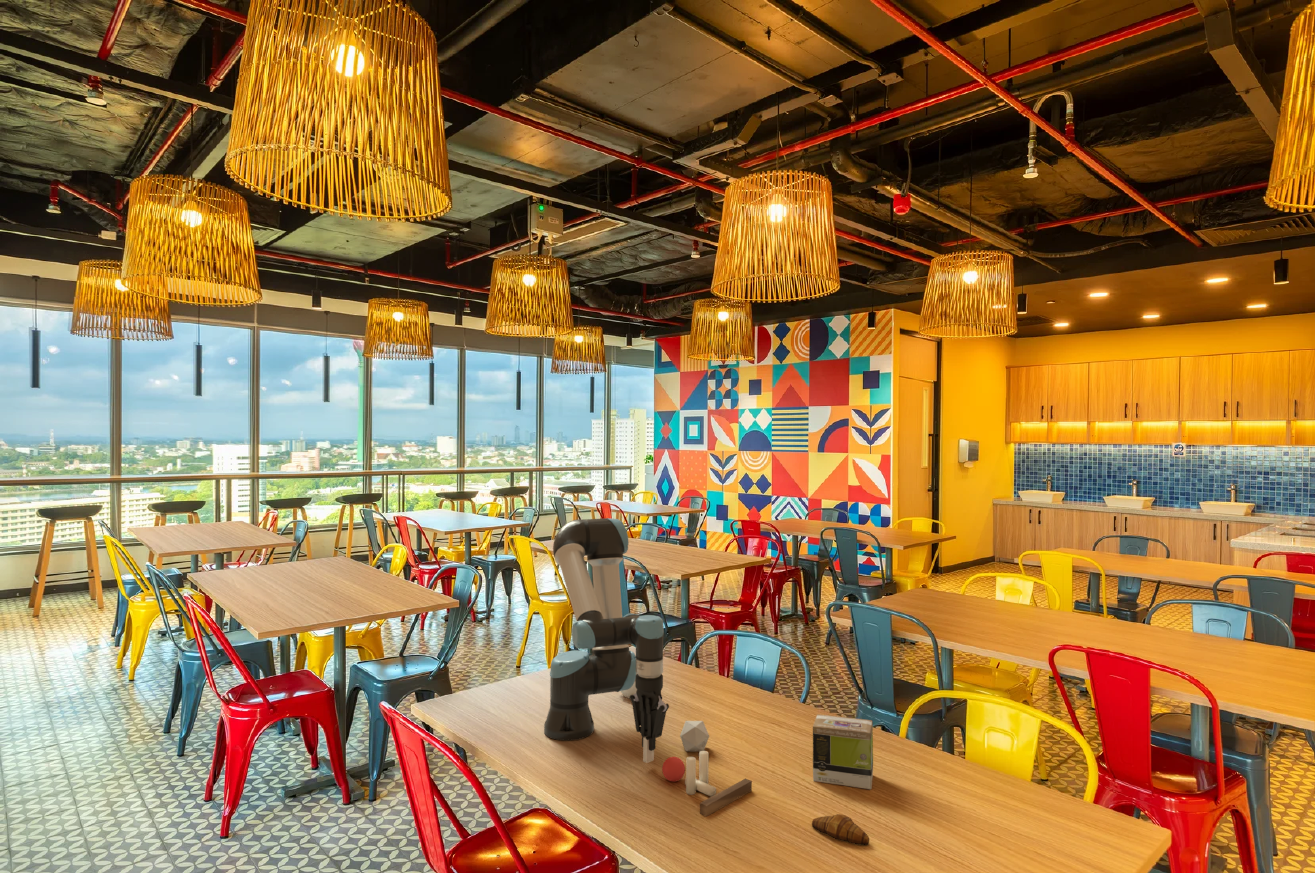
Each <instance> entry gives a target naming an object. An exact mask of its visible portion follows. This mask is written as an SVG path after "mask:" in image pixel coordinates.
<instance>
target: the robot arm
mask: <svg viewBox="0 0 1315 873" xmlns="http://www.w3.org/2000/svg"><path fill="white" fill-rule="evenodd" d="M629 544H630V543H629V535H628V532H627V529H626V526H625V524H624V523H623V522H622V521H621V519H618V518H609V517H607V518H606V517H605V518H590V519H589V518H588V519H587V518H586V519H580V518H578V519H572V520H570V521H568V522H567V523H565V524H563V526H562V527H561V528H559V530H558V531H557V533H556V535H555V538H554V540H553V544H552V552H553V553H552V554H553V558H554V561H555V562H556V564H557V565H559V566H560V570H561V573H562V577H563V580H564V582H565V587H566V589H567V592H568V597H569V600H570V603H571V606H572V610H573V615H574V618H575V620H576V621H574V623H573V624H572V627H571V636H572V637H571V638H572V643H573V645H574V647H575V648H576V649H579V650H569V651H565V652H562V653H559V654H557V655H556V656H555V657H553V659H552V660H551V663H550V671H549V677H550V682H549V683H550V689H549V690H550V691H549V692H550V693H549V694H550V695H549V698H550V700H549V701H550V703H549V704H550V705H549V709H548V712H547V716H546V720H545V721H544V725H543V727H544V728H543V729H544V730H543V732H544V735H545V736H547V737H548V738H550V739H554V740H558V741H575V740H582V739H584V738H587V737H590V736H591V735H592V734H593V733H594V730H595V722H594V720H593V716H592V713H591V712H592V711H591V709H590V707H589V706H590V705H589V696H591V695H597V694H598V695H599V694H606V693H614V692H616V693H619V692H621V691H623V690H628V689H630V688H631V687H632V686H633V684H634V682H635V687H636V689H637V691H636V694H633V695H630V698H629V700H630V702H631V705H632V712H633V713H632V714H633V717H634V718H633V719H634V724H635V725H634V726H635V730H636V733H639V734H640V736H641V748H642V749H643V750H642V752H643V754H642V762H643V763H646V764H648V763H651V762H653V761H654V760H655V750H656V746H657V745H656V741H657V740H656V739H657V738H659V737H660V738H661V737H662V734H663V730H664V725H665V721H666V716H667V715H666V714H667V711H668V709H669V708H670V705H669V703H665V702H664V701H663V695H662V690H663V687H664V675H663V674H664V635H665V634H664V633H665V629H664V620H663V618H662V617H661V616H658V615H654V614H645V615H640V614H636V613H630V612H629V613H627V614H625V615H623V607H622V593H621V591H622V589H621V579H620V578H621V576H620V575H621V574H620V563H621V562H622V561H623V560H624V554H626V553H628V550H629ZM585 557H586V559H587V563H588V564H589V565H591V567H592V580H591V576H590V573H589V569H588V568H587V565H586V564H587V563H586V561H585ZM629 645H634V646H635V652H634V651H632V650H630V646H629ZM580 649H581V650H580ZM582 649H585V650H582ZM586 649H589V650H591V649H592V654H591V655H590V653H588V651H586ZM635 679H636V680H635Z"/></svg>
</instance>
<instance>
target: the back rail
mask: <svg viewBox="0 0 1315 873" xmlns="http://www.w3.org/2000/svg"><path fill="white" fill-rule="evenodd" d="M752 782H753V781H752V780H751V779H747V778H744V779H742V780H739V781H738V782H736V783H734V784H732V785H731V786H729V787H727V788H725V789H723V790H721V791H720V792H718V793H716V794H715V795H714V796H712V797H711V796H709V797H708V798H707V799H705V800H702V802H700V803H699V814H700V815H702V816H704V817H708V816H710V815H712V814H713V813H715V812H717V811H719V810H720V809H722V808H723V807H726V806H727V805H729V804H731V803H733V802H734V801H736V800H738V799H740V798H742V797H743V796H745V795H747V794H749V793H750V792H752V789H753V788H752V787H753V785H752Z"/></svg>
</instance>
